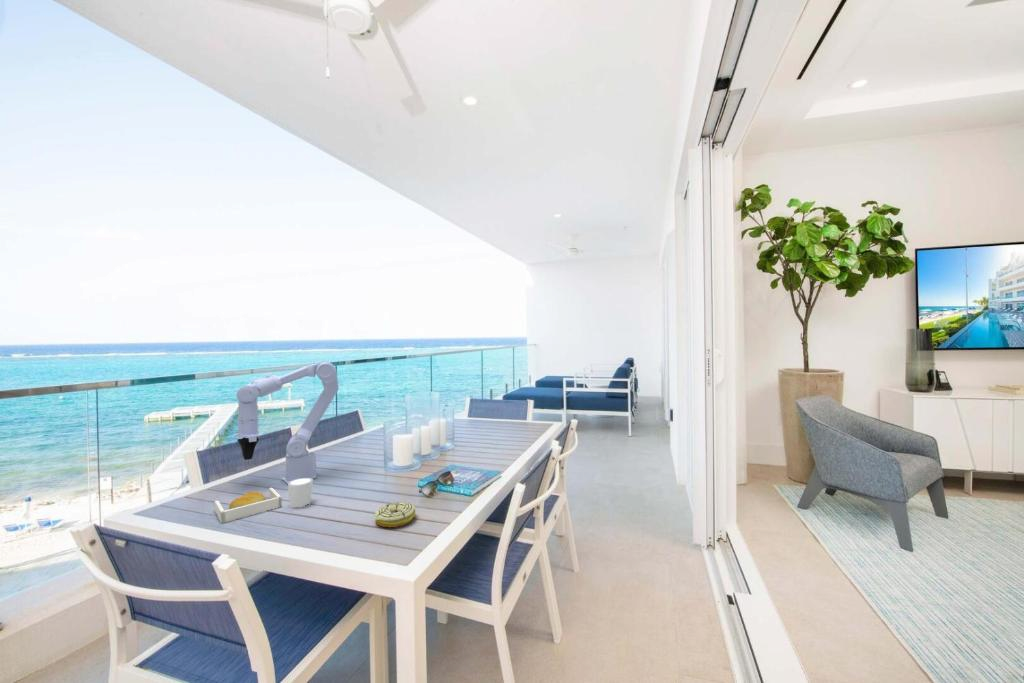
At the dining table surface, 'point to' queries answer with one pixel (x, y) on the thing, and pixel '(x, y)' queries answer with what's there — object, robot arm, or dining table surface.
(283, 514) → the dining table surface
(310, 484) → the white short cylinder
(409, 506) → the decorated donut
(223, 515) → the tray
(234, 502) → the bread roll
